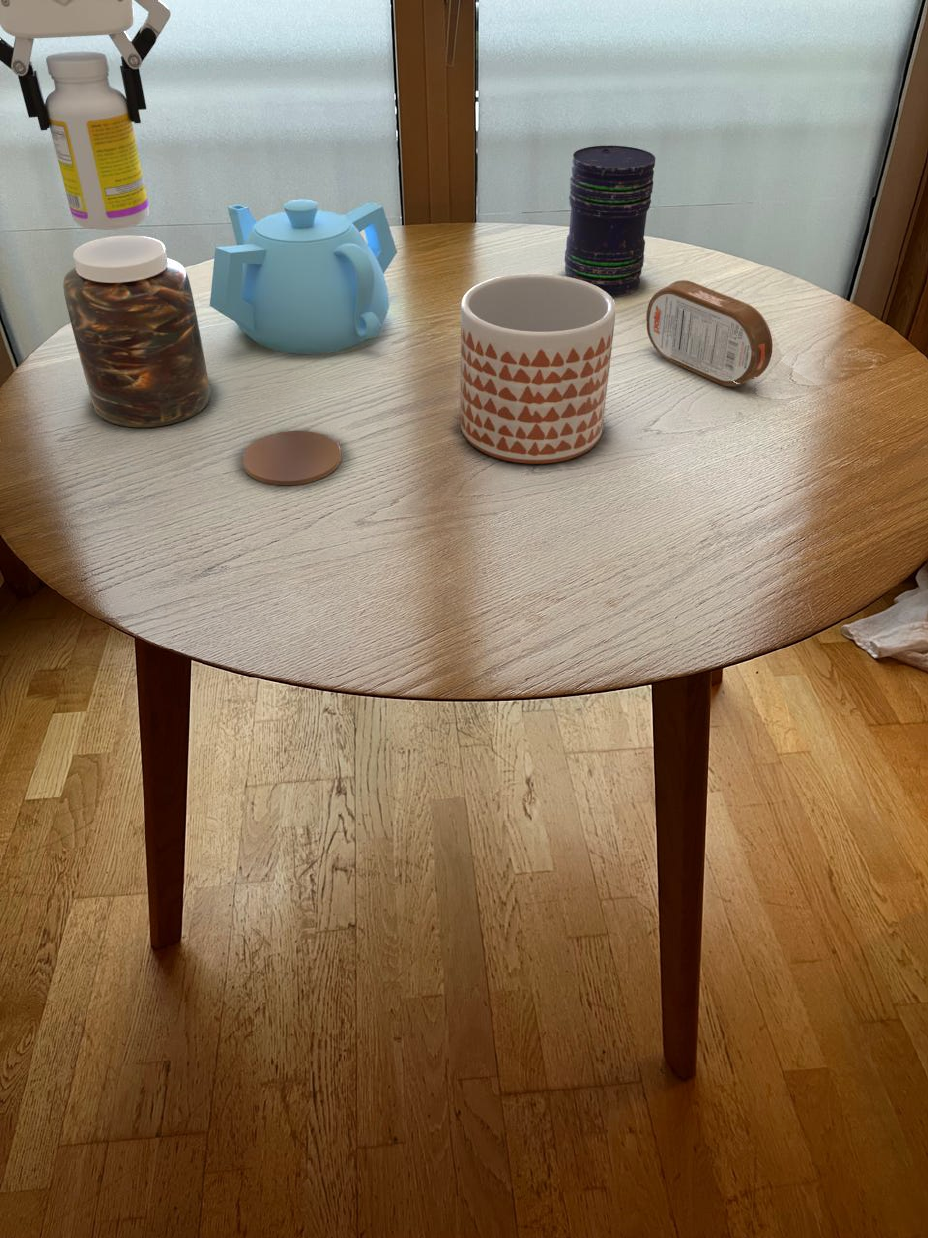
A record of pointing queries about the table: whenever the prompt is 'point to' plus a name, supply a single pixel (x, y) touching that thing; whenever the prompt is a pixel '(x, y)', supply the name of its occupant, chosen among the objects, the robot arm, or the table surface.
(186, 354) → the jar
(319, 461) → the brown coaster
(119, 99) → the supplement bottle
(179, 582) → the table surface
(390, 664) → the table surface
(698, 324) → the tin
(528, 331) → the planter
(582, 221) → the storage jar
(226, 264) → the teapot
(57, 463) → the table surface
